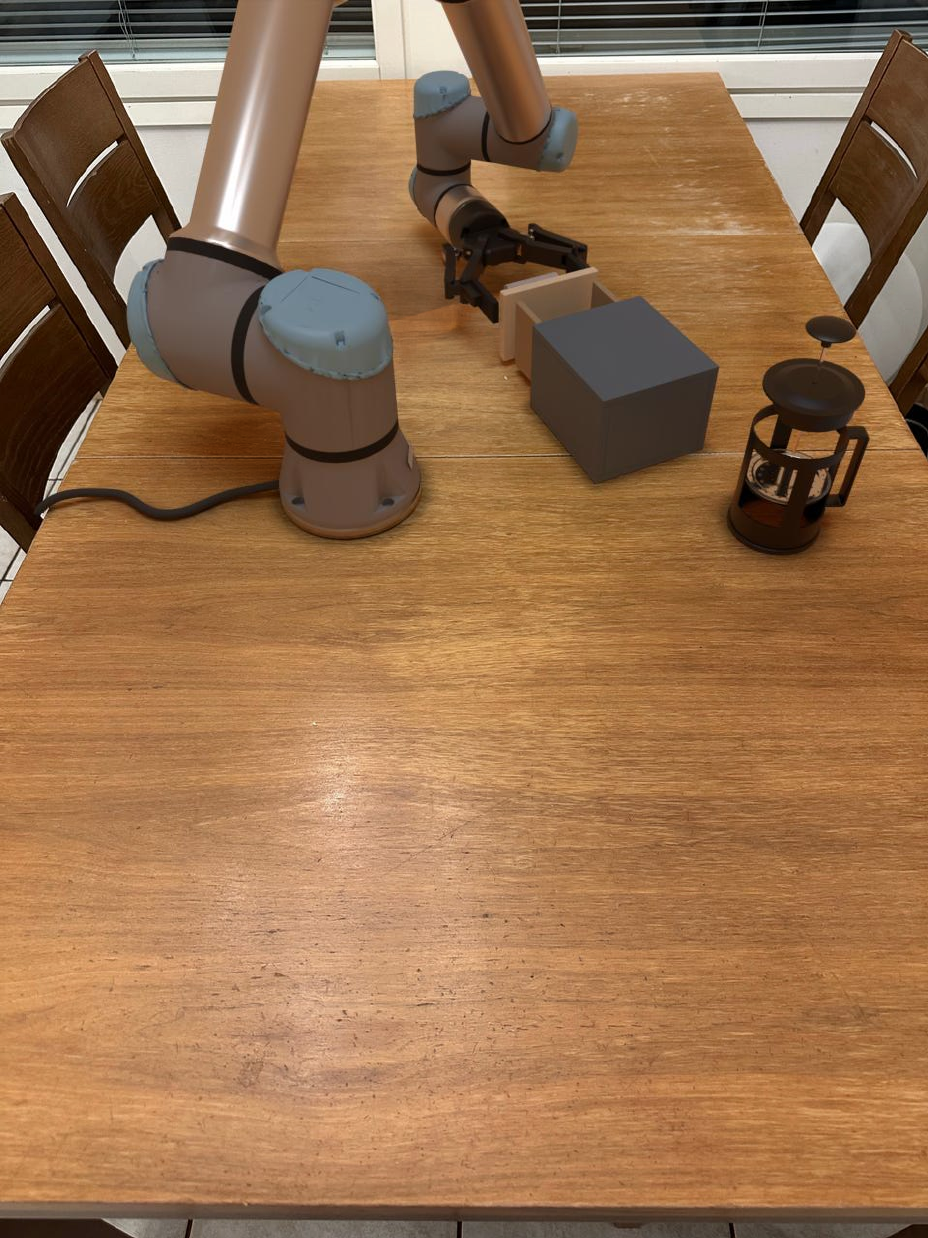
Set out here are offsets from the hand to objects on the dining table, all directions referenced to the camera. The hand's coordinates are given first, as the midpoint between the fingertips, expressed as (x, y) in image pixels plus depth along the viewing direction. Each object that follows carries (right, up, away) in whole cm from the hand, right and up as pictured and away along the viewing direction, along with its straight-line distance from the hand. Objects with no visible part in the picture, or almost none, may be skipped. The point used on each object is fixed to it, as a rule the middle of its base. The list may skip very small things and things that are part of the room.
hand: (545, 300), depth 115 cm
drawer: (+2, -7, +1) cm, 8 cm away
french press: (+23, -29, -17) cm, 40 cm away
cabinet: (+7, -17, -6) cm, 19 cm away
